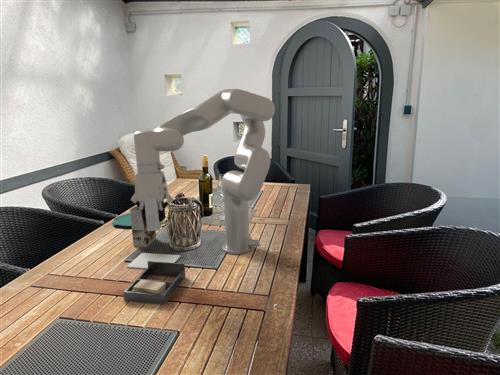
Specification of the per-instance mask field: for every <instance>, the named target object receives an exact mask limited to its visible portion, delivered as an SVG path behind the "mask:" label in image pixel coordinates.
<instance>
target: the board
mask: <svg viewBox="0 0 500 375" xmlns="http://www.w3.org/2000/svg"><path fill="white" fill-rule="evenodd" d="M180 258H181V254H180V255H179V254H168V253H167V254H166V253H152V252H151V253H150V252H141V253H140V254H139V255H138V256H137V257H135V258H134V259H133V260H132V261H131V262H130V263H129V264H128V265H126V268H127V269H137V270H138V269H139V270H146V269H147V268H148V263H147V262H148V261H155V262H169V263H175V262H176V263H177V262H178V260H179V259H180Z"/></svg>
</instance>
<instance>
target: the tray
mask: <svg viewBox="0 0 500 375" xmlns="http://www.w3.org/2000/svg"><path fill="white" fill-rule="evenodd" d="M147 263H148V268H147V269H144V270H143V271H142V272H141V274H139V275H138V277H136V279H134V280H133V281H132V283H131V284H129V285H128V286H127V288H126V289H124V291H123V292H122V293H123V300H124V302H133V303H145V304H152V305H153V304H156V305H164V306H165V305H166V304H167V303H168V302H169V300H170V299H171V297H172V296H173V295H174V294H175V292H176V291H177V289H178V288H179V286H180V285H181V284H182V282H183V281H184V280H185V279H186V268H185V267H186V265H185V263H182V262H181V263H179V262H176V263H169V262H155V261H148V262H147ZM150 276H154V277H155V276H156V277H157V276H159V277H171V278H175V279H174V280H173V281H170V280H157V279H156V280H155V279H149V278H150ZM140 280H149V281H157V282H165V283H166V287H165V288H166V292H165V293H164V294H154V293H142V292H132V290H133V287H134V286H135V285H136V284H137V283H138V282H139V281H140Z"/></svg>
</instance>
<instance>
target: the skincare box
mask: <svg viewBox="0 0 500 375" xmlns="http://www.w3.org/2000/svg"><path fill="white" fill-rule="evenodd" d="M144 203H145V213H146V223H147V231H156V232H157V231H160V230H161V228H162V226H163V224H162V223H163V221H162V222H160V221H159V213H158V211H159V206H158V202H157V197H156V196H145V197H144Z"/></svg>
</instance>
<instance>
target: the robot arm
mask: <svg viewBox="0 0 500 375" xmlns="http://www.w3.org/2000/svg"><path fill="white" fill-rule="evenodd" d="M275 110H276V108H275V104H274V102H273V101H272V100H271V99H270V98H268V97H266V96H263V95H260V94H257V93H254V92H250V91H248V90H244V89H240V88H229V89H228V88H226V89H223V90H220V91H218V92H217V93H216V94H214V95H212V96H211V97H209V98H207V99H206V100H204V101H203V102H201V103H199V104H198V105H196V106H194V107H193V108H190V109H187V111H184V112H182V113H180V114H178V115H176V116H173V117H171V118H170V119H168V120H167V121H165V122H164V123H162V124H160V125H158V126H157V127H156V128H154V129H153V130H152V129H143V130H137V131H135V132H134V134H133V143H134V150H135V161H136V172H135V177H134V194H133V195H132V196H131V198H130V201H131V202H132V203H134V204H135V206H138V207H139V209H140V210H141V214H142V218H143V221H146V213H145V203H144V197H145V196H156V197H157V202H158V206H159V211H158V213H159V221H160V222H162V223H163V222H164V220H165V219H166V208H167V206H168V205H169V204H171V203H172V202H173V201H174V198H173V196H171V194H170V193H169V188H168V184H167V179H166V175H165V172H164V169H165V165H164V164H162V162H161V157H160V155H161V154H160V152H166V153H167V152H169V153H170V152H176V151H179V150H180V149H181V148H182V147H183V145H184V142H185V139H184V136H186V135H189V134H191V133H195V132H200V131H204V130H208V129H210V128H211V127H213V125H216V124H217V123H218V122H220V121H221V120H223V119H224V118H225V117H228V116H229V115H230V114H234V115H239V116H240V117H241V119H242V122H243V133H242V136H241V139H240V141H239V144H238V147H237V148H236V151H235V154H234V157H233V159H234V160H233V161H234V164H235V166H236V167H238V168H239V169H242V170H244V171H243V172H242V171H239V170H230V171H227V172H226V173H224V175H223V176H222V179H221V182H220V183H221V185H220V187H221V192H222V197H223V205H224V209H223V210H224V212H223V213H224V234H225V235H224V236H225V238H224V239H225V241H224V242H223V243H222V245H221V250H222V251H223V252H225V253H227V254H231V255H241V254H243V255H244V254H247V253H249V252H251V251H253V249H254V247H260V246H261V245H260V244H261V242H260V240H258V239H252V238H251V237H252V236H251V235H250V224H249V218H250V216H249V210H250V209H249V202H250V201H252V200H255V199H256V198H257V197H258V196H259V195H260V192H261V190H262V187H263V185H264V183H265V180H266V177H267V175H268V173H269V171H270V170H269V169H270V166H271V156H270V152H268V150H267V149H265V148H264V147H263V144H264V141H265V138H266V127H265V123H264V122H267V121H270V120H272V118H273V117H274V115H275V112H276V111H275ZM165 199H166V201H165Z"/></svg>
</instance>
